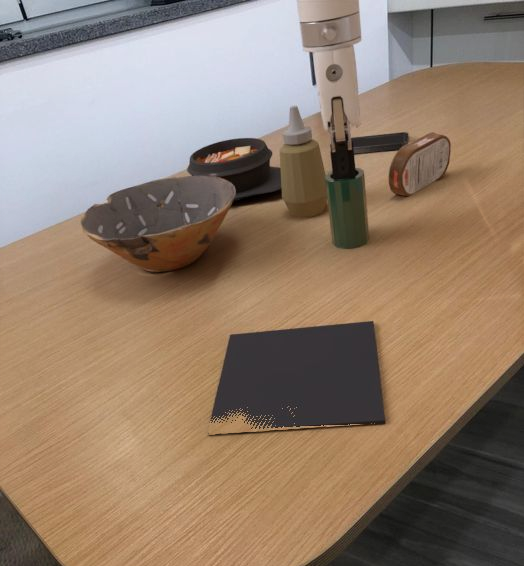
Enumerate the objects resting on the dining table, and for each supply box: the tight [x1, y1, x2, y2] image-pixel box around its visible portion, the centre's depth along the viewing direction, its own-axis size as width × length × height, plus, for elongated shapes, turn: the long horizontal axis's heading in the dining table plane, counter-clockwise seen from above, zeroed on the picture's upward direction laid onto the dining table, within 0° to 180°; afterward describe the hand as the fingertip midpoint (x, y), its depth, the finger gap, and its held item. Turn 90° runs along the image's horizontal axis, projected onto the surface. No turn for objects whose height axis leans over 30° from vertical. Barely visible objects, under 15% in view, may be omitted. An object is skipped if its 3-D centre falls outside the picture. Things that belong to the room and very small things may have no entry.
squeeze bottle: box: [279, 105, 328, 219], centre depth 100 cm, size 8×8×18 cm
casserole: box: [186, 137, 282, 202], centre depth 118 cm, size 25×19×8 cm
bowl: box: [79, 175, 236, 273], centre depth 96 cm, size 25×25×10 cm
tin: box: [388, 132, 452, 197], centre depth 103 cm, size 15×3×8 cm, turn 133°
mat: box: [209, 320, 386, 429], centre depth 68 cm, size 18×18×1 cm
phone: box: [351, 131, 410, 155], centre depth 128 cm, size 8×1×15 cm
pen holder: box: [325, 167, 370, 250], centre depth 89 cm, size 6×6×11 cm
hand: (344, 173), depth 86 cm, fingers closed on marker, 2 cm apart
